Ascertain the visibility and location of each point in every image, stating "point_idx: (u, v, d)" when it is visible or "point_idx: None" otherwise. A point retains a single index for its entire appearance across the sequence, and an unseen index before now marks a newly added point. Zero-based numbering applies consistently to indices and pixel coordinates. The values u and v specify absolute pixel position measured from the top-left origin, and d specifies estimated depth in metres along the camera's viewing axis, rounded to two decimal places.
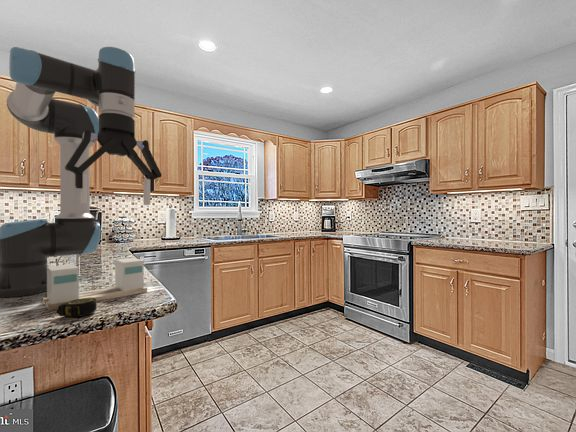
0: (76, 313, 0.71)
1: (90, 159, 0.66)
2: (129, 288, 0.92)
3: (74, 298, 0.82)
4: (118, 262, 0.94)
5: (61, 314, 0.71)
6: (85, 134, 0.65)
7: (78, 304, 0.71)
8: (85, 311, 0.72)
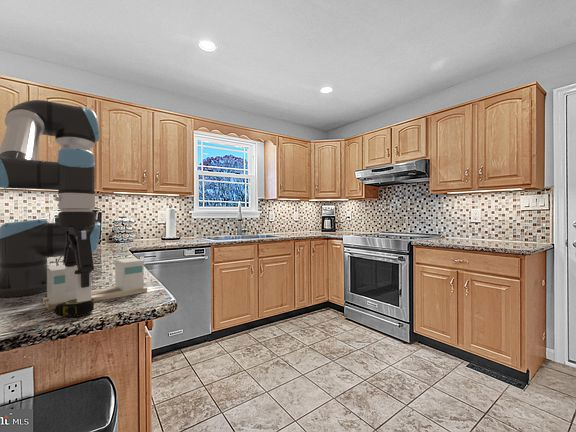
0: (73, 313, 0.71)
1: (66, 254, 0.76)
2: (129, 288, 0.92)
3: (74, 298, 0.82)
4: (118, 262, 0.94)
5: (58, 314, 0.71)
6: (65, 233, 0.77)
7: (75, 304, 0.71)
8: (82, 311, 0.72)
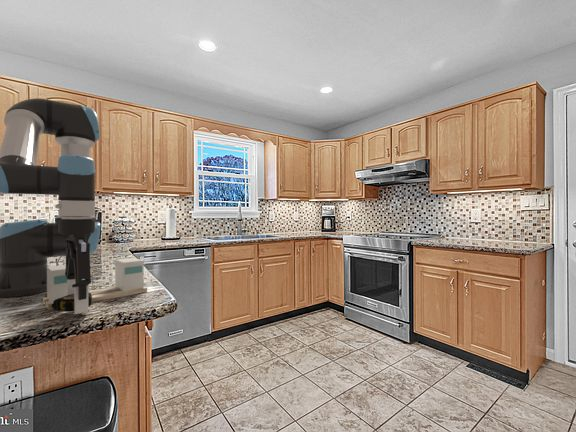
0: (71, 308, 0.70)
1: (68, 265, 0.76)
2: (129, 288, 0.92)
3: None
4: (118, 262, 0.94)
5: (56, 309, 0.71)
6: None
7: (73, 299, 0.71)
8: None
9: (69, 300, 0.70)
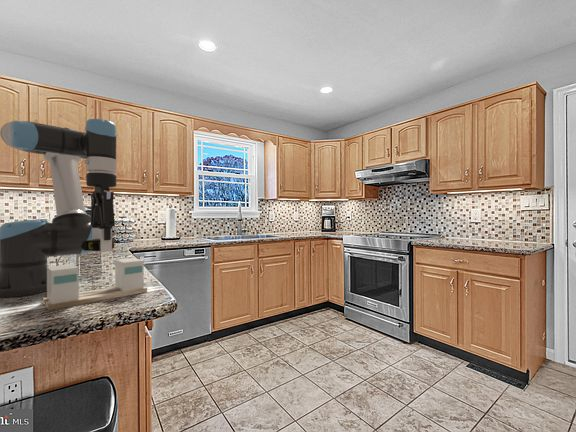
0: (97, 248, 0.83)
1: (93, 215, 0.88)
2: (129, 288, 0.92)
3: (74, 298, 0.82)
4: (118, 262, 0.94)
5: (85, 249, 0.83)
6: (91, 197, 0.90)
7: (99, 240, 0.83)
8: None
9: (96, 241, 0.83)
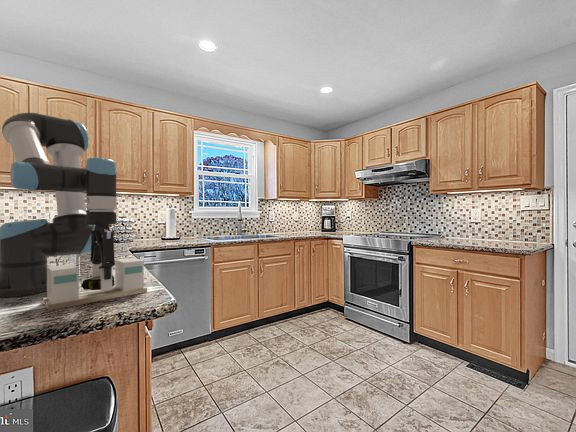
0: (98, 287, 0.83)
1: (93, 252, 0.88)
2: (129, 288, 0.92)
3: (74, 298, 0.82)
4: (118, 262, 0.94)
5: (85, 288, 0.83)
6: (91, 233, 0.90)
7: (99, 279, 0.83)
8: None
9: (96, 280, 0.83)
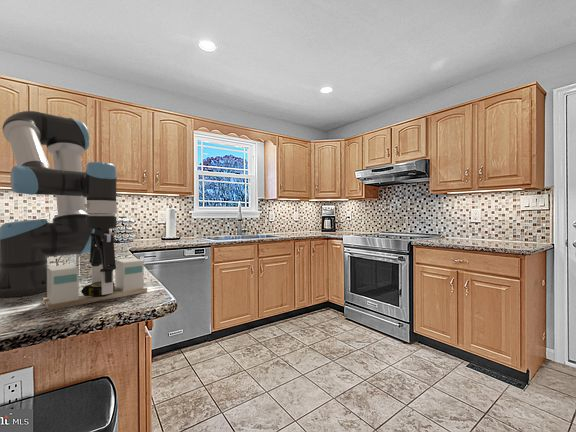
0: (98, 294, 0.83)
1: (93, 254, 0.89)
2: (129, 288, 0.92)
3: (74, 298, 0.82)
4: (118, 262, 0.94)
5: (85, 294, 0.83)
6: (91, 236, 0.90)
7: (99, 287, 0.83)
8: None
9: (96, 287, 0.83)
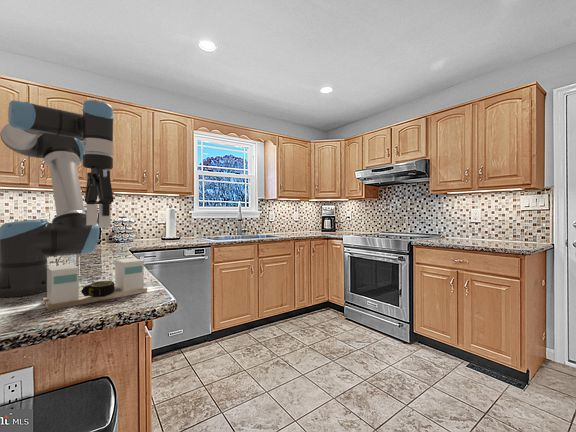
0: (98, 294, 0.83)
1: (88, 193, 0.90)
2: (129, 288, 0.92)
3: (74, 298, 0.82)
4: (118, 262, 0.94)
5: (85, 294, 0.83)
6: (87, 175, 0.91)
7: (99, 287, 0.83)
8: (105, 293, 0.84)
9: (96, 287, 0.83)
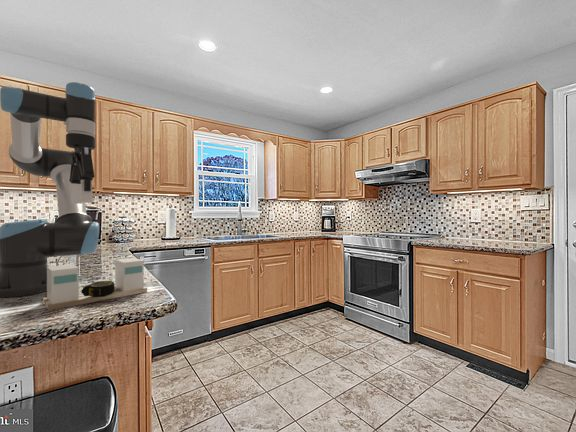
0: (98, 294, 0.83)
1: (72, 172, 0.94)
2: (129, 288, 0.92)
3: (74, 298, 0.82)
4: (118, 262, 0.94)
5: (85, 294, 0.83)
6: None
7: (99, 287, 0.83)
8: (105, 293, 0.84)
9: (96, 287, 0.83)
